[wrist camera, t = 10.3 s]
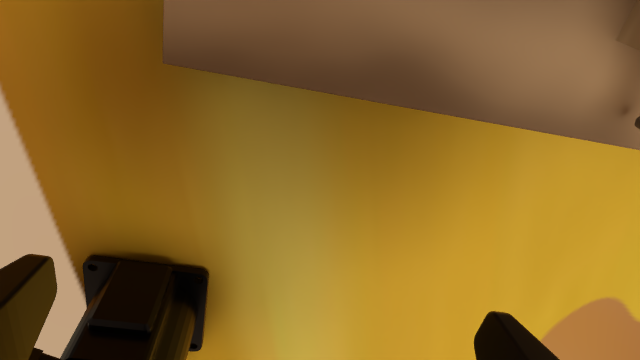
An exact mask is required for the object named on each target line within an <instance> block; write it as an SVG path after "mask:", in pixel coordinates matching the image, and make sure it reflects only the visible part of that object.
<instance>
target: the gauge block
mask: <svg viewBox="0 0 640 360" xmlns="http://www.w3.org/2000/svg"><path fill="white" fill-rule="evenodd" d="M616 41H618V42H621V43H623V44H625V45H628V46H630V47H632V48H635V49H637V50H639V51H640V0H637V2H636V4H635V5H634V7H633V9H632V11H631V13H630V15H629V17H628V18H627V20H626V22H625V24H624V26H623V28H622V30H621V32H620V33H619V35H618V37H617V39H616ZM635 126H636V127H637V128H638V129H640V116H639V117H638V118H637V119H636V120H635Z"/></svg>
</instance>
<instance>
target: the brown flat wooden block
mask: <svg viewBox="0 0 640 360" xmlns="http://www.w3.org/2000/svg"><path fill="white" fill-rule="evenodd" d="M636 2H637V0H164V17H163V63H164V64H170V65H175V66H181V67H186V68H192V69H197V70H203V71H208V72H214V73H219V74H225V75H230V76H236V77H241V78H247V79H252V80H258V81H263V82H269V83H274V84H280V85H285V86H291V87H296V88H302V89H307V90H313V91H318V92H324V93H329V94H335V95H340V96H346V97H351V98H357V99H362V100H368V101H373V102H379V103H384V104H390V105H395V106H401V107H406V108H412V109H417V110H423V111H428V112H434V113H439V114H445V115H450V116H456V117H461V118H467V119H472V120H478V121H483V122H489V123H494V124H500V125H505V126H511V127H516V128H522V129H527V130H533V131H538V132H544V133H549V134H555V135H560V136H566V137H571V138H577V139H582V140H588V141H593V142H599V143H604V144H609V145H615V146H620V147H626V148H631V149H637V150H640V129H638V128H637V127H636V126H635V120H636V119H637V118H638V117H639V116H640V51H639V50H637V49H635V48H632V47H630V46H628V45H625V44H623V43H621V42H618V41H616V39H617V37H618V35H619V33H620V32H621V30H622V28H623V26H624V24H625V22H626V20H627V18H628V17H629V15H630V13H631V11H632V9H633V7H634V5H635V4H636Z"/></svg>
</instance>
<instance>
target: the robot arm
mask: <svg viewBox="0 0 640 360" xmlns="http://www.w3.org/2000/svg"><path fill="white" fill-rule="evenodd" d="M92 264H94V265H96V266H94V265H92ZM83 274H84V284H85V294H86V304H87V309H86V311H85V313H84V315H83V317H82V319H81V321H80V323H79V324H78V326H77V328H76V330H75V332H74V334H73V335H72V337H71V339H70V341H69V343H68V345H67V347H66V348H65V350H64V352H63V354H62V356H61V358H60V359H59V358H56V357H53V356H50V355H47V354H44V353H42V352H43V350H40V349H37V348H34V346H35V343H36V341H37V339H38V336H39V334H40V332H41V329H42V327H43V325H44V323H45V320H46V318H47V316H48V314H49V311H50V309H51V307H52V304H53V302H54V300H55V297H56V293H57V283H56V275H55V268H54V262H53V259H52V258H51V257H49V256H43V255H35V254H28V255H25V256H23V257H21V258H19V259H18V260H16V261H14V262H12V263H10V264H9V265H7V266H5V267H3V268H1V269H0V360H186V358H187V355H188V351H199V350H200V349H201V347H202V343H203V334H204V324H205V314H206V304H207V294H208V283H209V274H208V272H207V271H205V270H204V269H199V268H191V267H183V266H175V265H167V264H159V263H151V262H143V261H135V260H127V259H119V258H111V257H103V256H95V255H94V256H89V257H88V258H87V259H86V260H85V262H84V263H83ZM197 277H200V278H202V279H199V278H197ZM474 349H475V354H476V360H559V359H558V358H557V357H556V356H555V355H554V354H553V353H552V352H551V351H550V350H549V349H548V348H547V347H545V346H544V345H543V344H542V343H541V342H540V341H539V340H538V339H537V338H536V337H535V336H533V335H532V334H531V333H530V332H529V331H528V330H527V329H526V328H525V327H524V326H523V325H521V324H520V323H519V322H518V321H517V320H516V319H515V318H514V317H513V316H512V315H510V314H508V313H504V312H496V311H491V312H489V313H488V314H487V315H486V317H485V319H484V321H483V322H482V324H481V326H480V328H479V329H478V331H477V333H476V335H475V338H474Z"/></svg>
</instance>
